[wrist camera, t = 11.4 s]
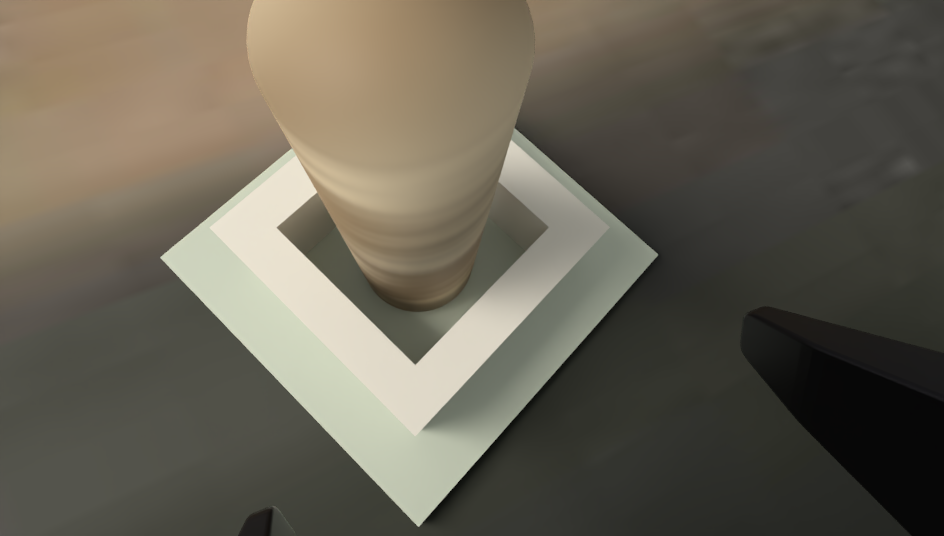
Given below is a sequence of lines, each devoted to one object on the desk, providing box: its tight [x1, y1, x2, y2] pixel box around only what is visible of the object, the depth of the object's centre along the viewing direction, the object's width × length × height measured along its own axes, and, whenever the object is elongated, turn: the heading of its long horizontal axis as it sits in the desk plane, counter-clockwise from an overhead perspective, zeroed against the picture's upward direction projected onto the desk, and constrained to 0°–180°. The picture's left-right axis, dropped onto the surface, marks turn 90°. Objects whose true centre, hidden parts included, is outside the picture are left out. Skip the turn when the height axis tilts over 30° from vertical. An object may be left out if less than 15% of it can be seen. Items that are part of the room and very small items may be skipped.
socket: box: [160, 128, 658, 527], centre depth 19 cm, size 14×14×4 cm
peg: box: [247, 0, 535, 312], centre depth 14 cm, size 4×4×13 cm
